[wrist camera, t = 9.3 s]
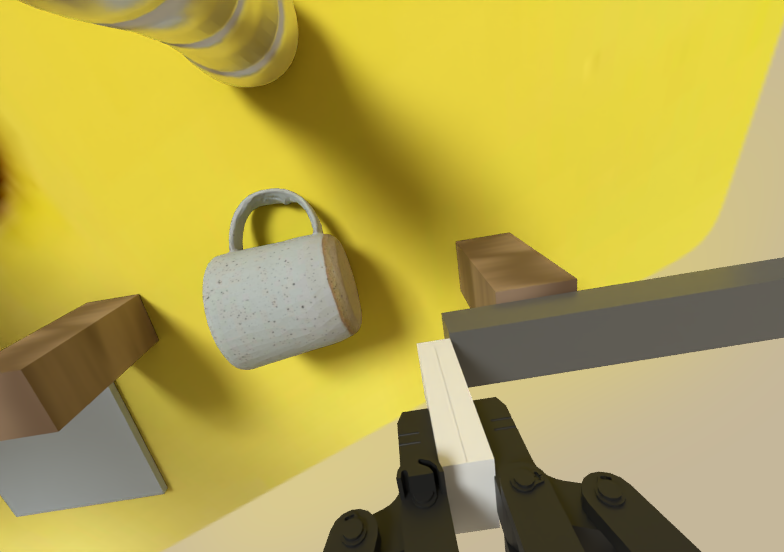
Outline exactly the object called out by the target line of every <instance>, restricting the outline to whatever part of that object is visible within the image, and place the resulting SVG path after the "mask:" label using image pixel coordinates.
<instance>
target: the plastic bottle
mask: <svg viewBox="0 0 784 552" xmlns="http://www.w3.org/2000/svg"><path fill="white" fill-rule="evenodd" d="M19 1H21V2H23V3H25V4H28V5H30V6H32V7H34V8H37V9H40V10H44V11H47V12H50V13H53V14H56V15H60V16H63V17H66V18H70V19H74V20H79V21H83V22H87V23H93V24H97V25H102V26H107V27H112V28H117V29H121V30H126V31H131V32H135V33H138V34H141V35H143V36H146V37H149V38H151V39H154V40H158V41H160V42H162V43H165V44H168V45H169V46H171V47H172V48H174V49H175V50H177V51H178V52H180V53H182V54H183V55H184V56H185V57H186V58H187V59H188V60H189V61H190V62H191V63H192V64H194V65H195V66H196V67H198V68H199V69H200V70H202V71H203V72H204V73H206V74H207V75H209V76H210V77H212V78H213V79H215V80H217V81H220V82H222V83H224V84H227V85H231V86H236V87H256V86H262V85H266V84H269V83H271V82H273V81H275V80H277V79H278V78H279V77H281V76H282V75H283V74H284V73H285V72H286V71H287V69H288V68H289V67H290V65H291V63H292V61H293V59H294V57H295V54H296V51H297V47H298V37H299V33H298V22H297V16H296V11H295V8H294V4H293V0H19Z"/></svg>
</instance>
